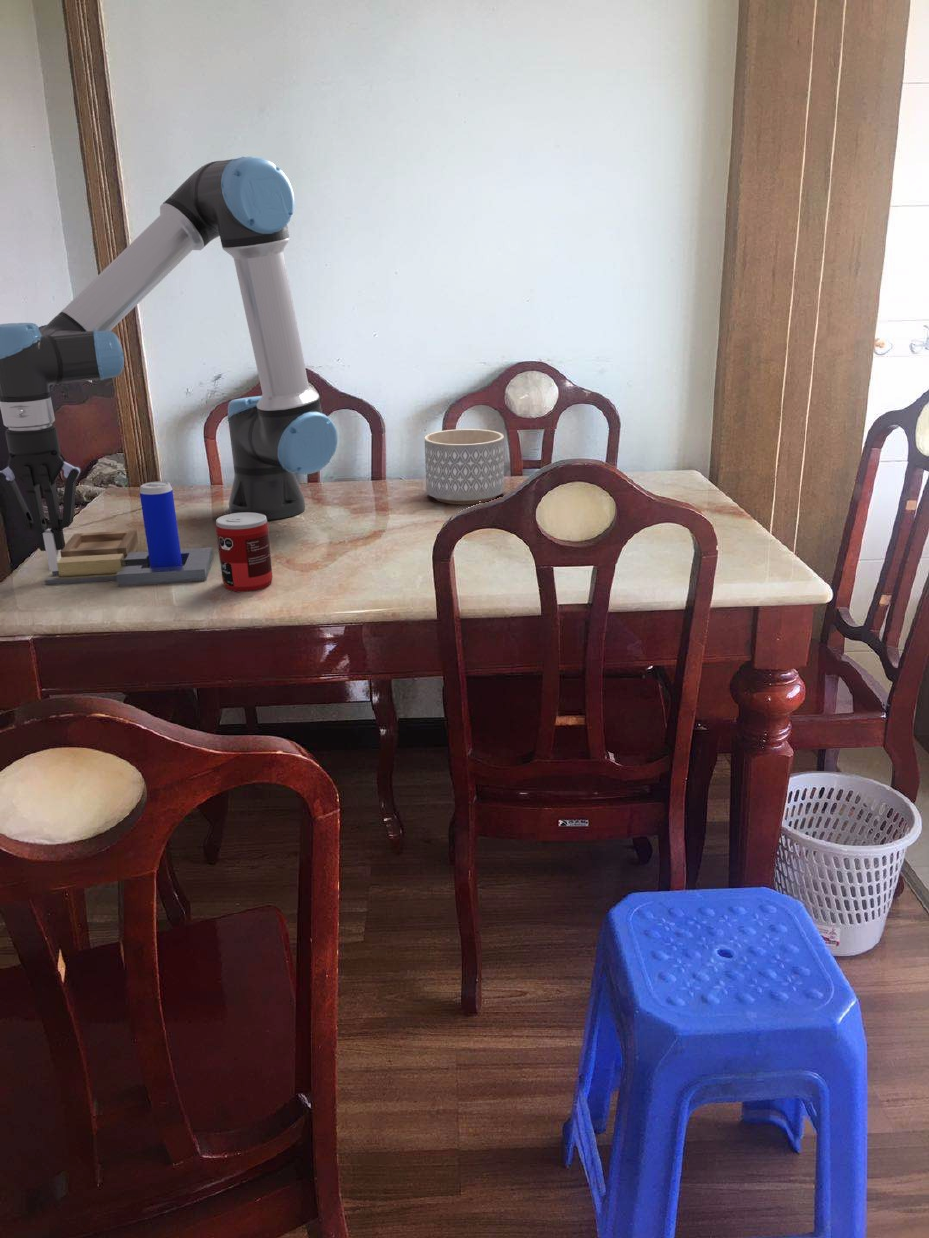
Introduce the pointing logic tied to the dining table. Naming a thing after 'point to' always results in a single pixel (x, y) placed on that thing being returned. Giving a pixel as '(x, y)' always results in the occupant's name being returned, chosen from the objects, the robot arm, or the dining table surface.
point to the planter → (464, 465)
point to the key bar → (90, 565)
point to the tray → (101, 543)
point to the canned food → (244, 551)
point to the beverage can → (160, 524)
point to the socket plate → (151, 570)
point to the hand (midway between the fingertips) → (56, 568)
